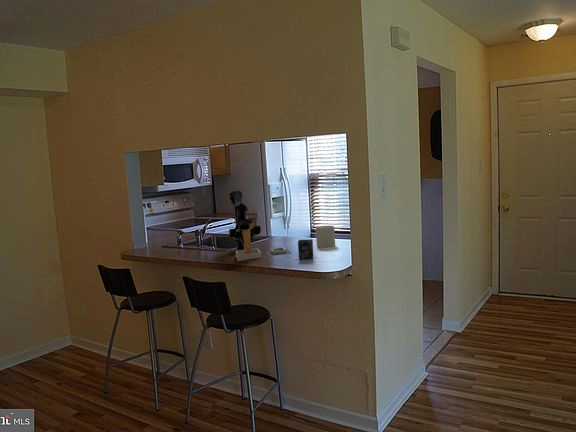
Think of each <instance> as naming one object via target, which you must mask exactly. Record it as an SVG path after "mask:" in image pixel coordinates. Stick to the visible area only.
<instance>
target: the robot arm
mask: <svg viewBox="0 0 576 432" xmlns="http://www.w3.org/2000/svg"><path fill="white" fill-rule="evenodd" d="M228 198H229V200H230V204H231V205H232V206H233V213H234V220H235V227H233V228H229V230H228V237H229V238H232V239H233V241H234V242H236V248H235V251H238V250H244V240H243V231H242V230H247V229H248V230H250V237H251V244H252V243H253V237H255V236H256V235H261V230H262V228H261V225H253V226H252V227H253V228H250V225H252V224H253V219H252V217H248V218H247V212H248V210H249V208H247V206H246V204H245V203H244V202H243V200H242V199H243V198H244V197H243V192H242V191H241V190H233V191H231V192H229V193H228Z"/></svg>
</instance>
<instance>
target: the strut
mask: <svg viewBox="0 0 576 432" xmlns="http://www.w3.org/2000/svg"><path fill="white" fill-rule="evenodd" d="M242 231H243V240H244V254H249V253H252V249H253V248H252V243H251V237H250V230H248V229H247V230H242Z"/></svg>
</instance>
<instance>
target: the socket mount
mask: <svg viewBox="0 0 576 432" xmlns="http://www.w3.org/2000/svg"><path fill="white" fill-rule="evenodd" d="M265 254H266V255H267V256H268V257H273V256H282V255H284V256H285V255H292V254H293V253H292V252H291V250H289V249H286V248H285V247H277V248H274V247H273V248H270V250H269V251H265Z"/></svg>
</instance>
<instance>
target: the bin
mask: <svg viewBox="0 0 576 432" xmlns="http://www.w3.org/2000/svg"><path fill="white" fill-rule="evenodd" d="M251 249H252V253H249V254H244V250H235V258H236V260H237V262H239V261H241V262H246V261H249V260H251V259H259V258H260V259H261V258H262V252H261V251H260V249H259V248H251ZM239 263H240V262H239Z"/></svg>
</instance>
